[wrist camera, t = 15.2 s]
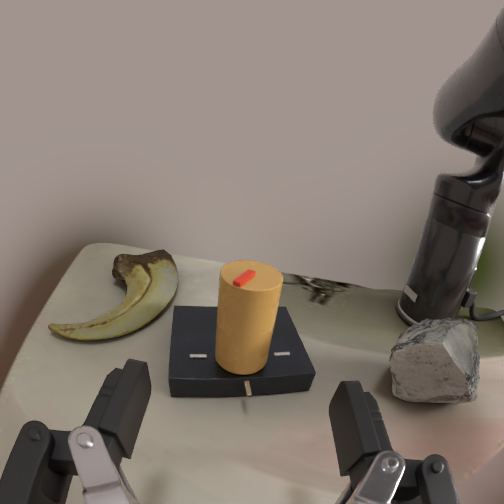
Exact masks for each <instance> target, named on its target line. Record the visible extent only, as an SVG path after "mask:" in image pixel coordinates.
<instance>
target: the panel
mask: <svg viewBox="0 0 504 504" xmlns="http://www.w3.org/2000/svg"><path fill="white" fill-rule="evenodd" d="M217 311H218V307H200V306H174V313H173V323H172V334H171V347H170V361H169V377H168V379H169V386H170V394H171V397H239V396H257V395H270V394H281V393H291V392H299V391H307V390H309V388H310V386H311V384H312V381H313V378H314V376H315V373H316V372H315V370H314V367H313V365H312V363H311V361H310V359H309V356H308V354H307V352H306V350H305V348H304V346H303V343H302V341H301V339H300V337H299V335H298V333H297V330H296V328H295V326H294V324H293V322H292V320H291V317H290V315H289V313H288V311H287V309H286V307H278V309H277V314H276V319H275V324H274V329H273V334H272V339H271V344H270V348H269V353H268V358H267V362H266V364H265V366H264V367H263V368H262V369H261V370H259V371H258V372H256V373H253V374H247V375H240V374H234V373H231V372H228V371H226V370H225V369H223V368H222V367H221V366H220V365H219V364H218V362H217V361H216V358H215V345H216V327H217Z"/></svg>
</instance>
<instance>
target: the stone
mask: <svg viewBox="0 0 504 504" xmlns="http://www.w3.org/2000/svg"><path fill="white" fill-rule="evenodd" d="M477 332H478V326H477V325H476V323H475V322H471V321H468V320H466V319H463V320H461V319H459V318H451V319H450V318H446V319H440V320H431V319H425V320H422V321H421V322H420V323H418V324H416V325H412V326H411V327H409V328H407V329H406V330H405V332H403V333H402V334H400V336H399V338H398V340H397V342H396V344H395V346H394V347H393V348H392V350H391V352H392V353H391V356H390V360H389V361H390V366H391V367H390V371H391V373H392V378H393V381H392V382H393V385H392V392H393V395H394V396H396V397H398V398H400V399H402V400H405V401H409V402H430V403H452V404H459V403H466V402H472V401H474V400H476V399H477V384H478V382H479V379H480V377H479V363H480V361H479V360H480V358H479V354H478V352H477V351H476V348H477V341H478V337H477Z"/></svg>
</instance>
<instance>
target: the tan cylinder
mask: <svg viewBox="0 0 504 504" xmlns="http://www.w3.org/2000/svg"><path fill="white" fill-rule="evenodd" d="M282 284H283V276H282V274H281V273H280V271H278V270H277V269H276V268H274V267H273V266H270V265H268V264H265V263H262V262H258V261H249V260H240V261H234V262H230V263H228V264H226V265H224V266H223V267H222V269H221V271H220V281H219V295H218V311H217V327H216V345H215V358H216V361H217V362H218V364H219V365H220V366H221V367H222V368H223V369H225V370H226V371H228V372H231V373H234V374H240V375H247V374H253V373H256V372H258V371H259V370H261V369H262V368H263V367H264V366H265V364H266V362H267V358H268V353H269V348H270V344H271V339H272V334H273V329H274V324H275V319H276V314H277V309H278V304H279V299H280V294H281V289H282Z"/></svg>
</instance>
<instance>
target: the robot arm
mask: <svg viewBox="0 0 504 504" xmlns="http://www.w3.org/2000/svg"><path fill="white" fill-rule="evenodd" d="M433 124H434V127H435V130H436V132H437V134H438V135H439V137H440V138H441V139H443V140H444V141H445V142H447V143H448V144H450V145H452V146H455V147H457V148H460V149H462V150H465V151H468V152H470V153H473V154H475V155H476V158H475V162H474V164H473V166H472V167H471V168H469V169H466V170H463V171H459V172H442V173H439V174H438V175H437V176H436V179H435V183H434V187H433V193H432V197H431V201H430V205H429V209H428V213H427V218H426V221H425V225H424V229H423V232H422V236H421V239H420V242H419V245H418V249H417V252H416V255H415V259H414V261H413V264H412V267H411V270H410V273H409V276H408V279H407V281H406V284H405V287H404V289H403V292H402V295H401V297H400V298H399V301H398V303H397V311H398V313H399V315H400V316H401V318H402V319H403V320H404V321H405V322H407V323H408V324H409V325H411V326H412V325H416V324H418V323H420V322H421V321H422V320H425V319H431V320H440V319H446V318H450V319H451V318H456V317H457V315H458V313H459V310H460V308H461V306H463V307H464V308H465V307H470V309H469V313H470V317H471V318H472V319H473V320H476V321H484V320H488V319H493V318H497V317H499V316H501V315H504V310H501V311H498V312H495V313H489V314H485V315H476V314H475V312H474V311H475V302H474V299H475V297H476V294H477V293H476V292H475V291H474V290H473V289H471V288H470V285H471V283H472V281H473V278H474V276H475V273H476V270H477V267H476V266H477V263H478V260H479V257H480V254H481V251H482V248H483V245H484V242H485V239H486V235H487V232H488V229H489V225H490V221H491V218H492V214H493V211H494V207H495V204H496V202H497V200H498V198H499V195H500V193H501V189H502V186H503V182H504V6H503V8H502V9H501V11H500V12H499V14H498V16H497V17H496V19H495V21H494V23H493V25H492V26H491V28H490V30H489V32H488V33H487V34H486V36H485V37H484V39H483V40H482V42H481V43H480V44H479V46H478V47H477V48H476V50H475V51H474V52H473V53H472V55H471V56H470V57H469V58H468V59H467V60H466V61H465V62H464V63H463V64H462V65H461V66H460V67H458V68H457V69H456V70H455V71H454V72H453V73H452V74H451V75H450V76H449V77H448V78H447V79H446V80H445V81H444V83H443V84H442V86H441V87H440V89H439V91H438V93H437V95H436V99H435V102H434V106H433ZM150 395H151V381H150V376H149V371H148V366H147V363H146V362H143V361H138V360H134V359H128V360H127V362H126V364H125V366H124V368H123V370H122V369H118V368H115V369H114V370H113V371H112V372H111V373H109V374H108V375H107V377H106V379H105V381H104V383H103V386H102V387H101V389H100V391H99V394H98V395H97V397H96V399H95V401H94V403H93V405H92V408H91V410H90V412H89V414H88V416H87V418H86V420H85V422H84V424H83V425H82V426H79V427H77V428H75V429H73V430H72V431H58V430H49V429H48V428H47V427H46V425H45V424H43V423H42V422H39V421H29V422H27V423H26V424H25V425H24V426H23V427H22V429H21V431H20V433H19V435H18V437H17V440H16V442H15V444H14V446H13V449H12V451H11V454H10V456H9V458H8V461H7V463H6V466H5V469H4V471H3V474H2V477H1V479H0V504H65V502H66V498H67V495H68V491H69V487H70V484H71V480H72V477H73V475H76V476H79V477H80V480H81V483H82V485H83V489H84V491H83V492H82V494H83V498H84V501H85V503H86V504H140V503H139V501H138V499H137V498H136V496H135V494H134V492H133V490H132V488H131V487H130V485H129V483H128V481H127V479H126V477H125V475H124V473H123V471H122V468H121V466H120V463H121V460H122V457H125V458H128V459H131V455H132V452H133V449H134V445H135V442H136V439H137V436H138V433H139V429H140V426H141V423H142V420H143V417H144V414H145V411H146V408H147V405H148V402H149V399H150ZM329 416H330V421H331V426H332V431H333V437H334V442H335V447H336V453H337V458H338V464H339V469H340V475H341V476H348V475H349V476H350V482H349V483H348V484H347V486H346V488H345V489H344V491H343V492H342V494H341V495H340V497H339V498H338V500H337V501H336V503H335V504H389V503H390V501H391V504H459V500H458V496H457V493H456V489H455V485H454V481H453V478H452V475H451V471H450V468H449V465H448V462H447V460H446V459H445V458H444V457H442V456H441V455H437V454H434V455H430V456H428V457H427V458H426V459H425V460H409V459H404V458H403V457H402V456H401V455H400V454H399V453H397V452H395V451H393V449H392V447H391V444H390V440H389V437H388V434H387V431H386V428H385V425H384V422H383V420H382V416H381V413H380V412H379V407H378V405H377V402H376V400H375V399H374V397H373V396H372V395H371V394H370V393H369V392H363V389H362V386H361V383H360V382H359V381H341V382H340V384H339V386H338V388H337V390H336V392H335V394H334V396H333V398H332V400H331V402H330V405H329Z"/></svg>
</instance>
